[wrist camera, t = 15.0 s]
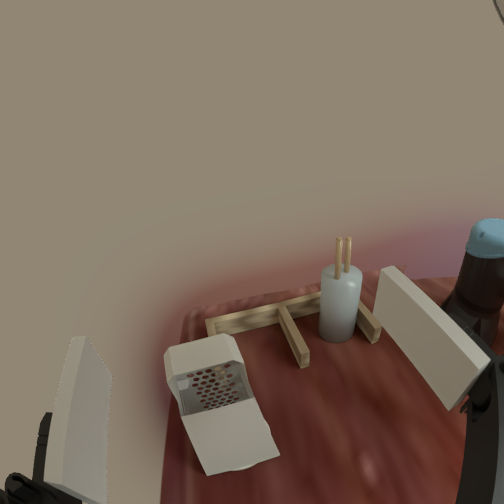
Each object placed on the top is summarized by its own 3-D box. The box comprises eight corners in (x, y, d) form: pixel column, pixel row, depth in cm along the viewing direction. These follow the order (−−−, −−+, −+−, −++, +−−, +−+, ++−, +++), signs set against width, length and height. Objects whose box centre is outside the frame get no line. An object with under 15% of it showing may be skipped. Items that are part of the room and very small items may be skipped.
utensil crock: (343, 313, 56) (352, 221, 46) (360, 336, 50) (375, 239, 40) (313, 323, 55) (314, 229, 45) (327, 347, 49) (335, 249, 39)
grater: (191, 417, 38) (144, 329, 28) (255, 400, 40) (238, 305, 30) (206, 475, 29) (150, 412, 19) (280, 455, 31) (273, 379, 22)
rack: (344, 298, 60) (346, 284, 58) (378, 341, 48) (382, 326, 46) (209, 333, 55) (204, 319, 53) (220, 389, 43) (215, 376, 41)
